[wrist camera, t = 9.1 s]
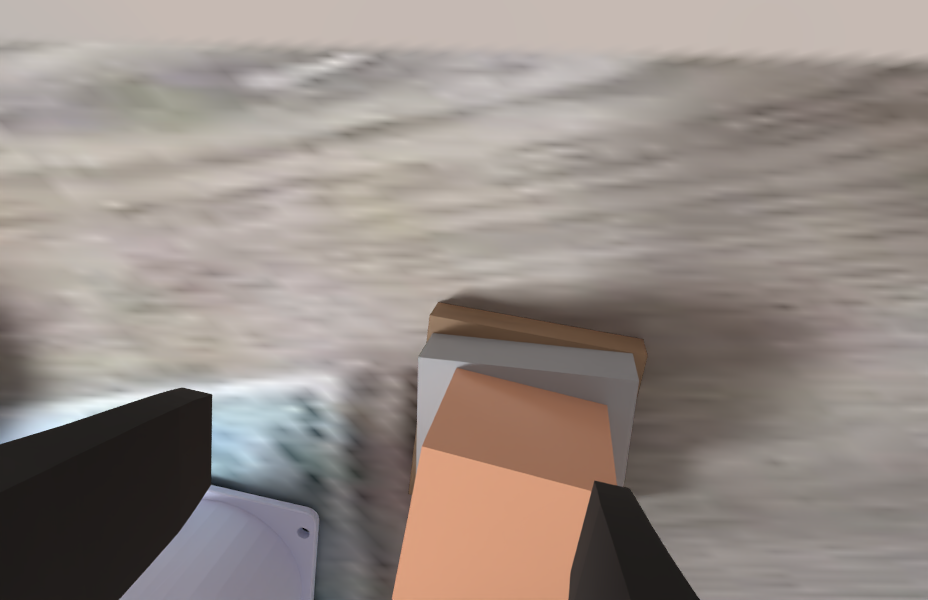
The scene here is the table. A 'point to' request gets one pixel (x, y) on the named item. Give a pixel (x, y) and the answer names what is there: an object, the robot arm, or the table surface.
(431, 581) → the terracotta block
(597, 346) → the walnut slab
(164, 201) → the table surface
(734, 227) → the table surface
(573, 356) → the slate slab
